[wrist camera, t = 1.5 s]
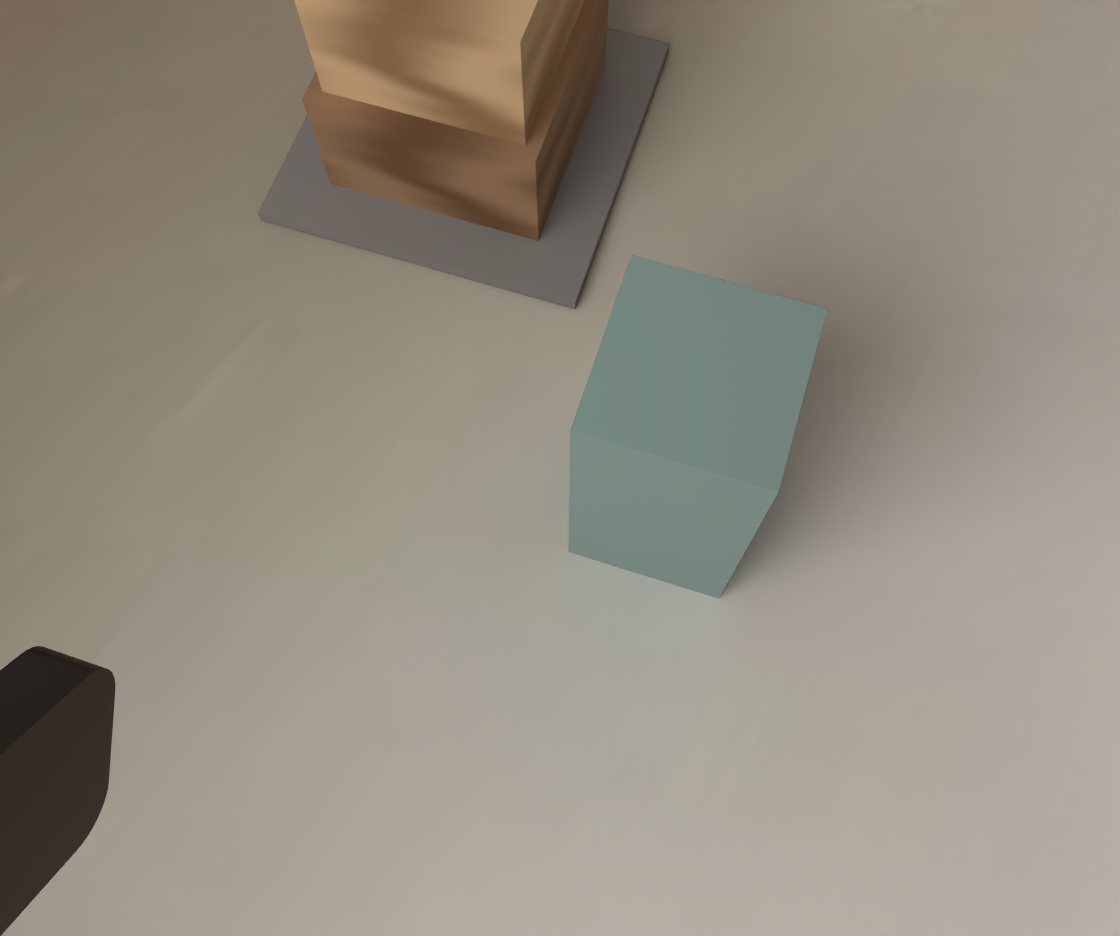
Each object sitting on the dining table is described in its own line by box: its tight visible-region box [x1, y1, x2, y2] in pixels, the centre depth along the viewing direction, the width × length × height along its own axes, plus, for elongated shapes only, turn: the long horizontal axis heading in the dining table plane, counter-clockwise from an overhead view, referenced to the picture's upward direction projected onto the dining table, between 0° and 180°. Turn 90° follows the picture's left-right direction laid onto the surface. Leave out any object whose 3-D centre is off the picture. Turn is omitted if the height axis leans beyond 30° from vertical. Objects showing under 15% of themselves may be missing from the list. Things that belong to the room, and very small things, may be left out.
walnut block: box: [302, 0, 608, 241], centre depth 38 cm, size 8×8×4 cm
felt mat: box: [258, 28, 669, 309], centre depth 40 cm, size 12×12×1 cm
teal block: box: [568, 255, 827, 598], centre depth 30 cm, size 5×5×10 cm
